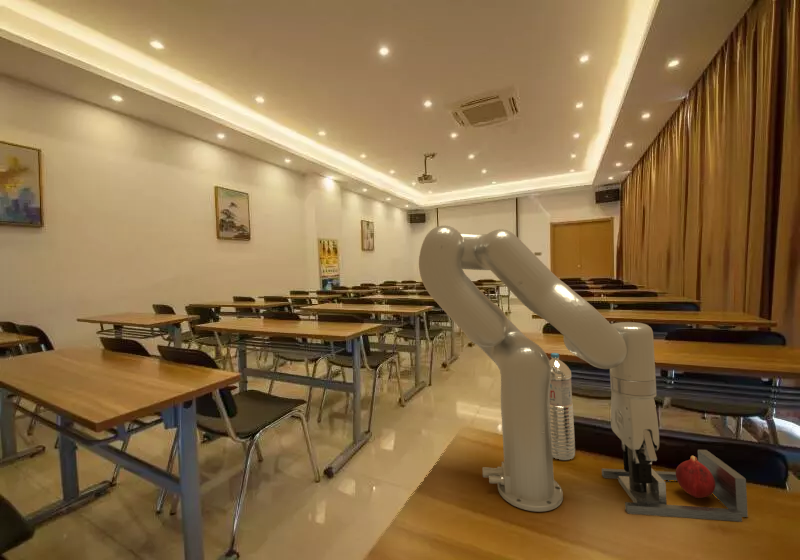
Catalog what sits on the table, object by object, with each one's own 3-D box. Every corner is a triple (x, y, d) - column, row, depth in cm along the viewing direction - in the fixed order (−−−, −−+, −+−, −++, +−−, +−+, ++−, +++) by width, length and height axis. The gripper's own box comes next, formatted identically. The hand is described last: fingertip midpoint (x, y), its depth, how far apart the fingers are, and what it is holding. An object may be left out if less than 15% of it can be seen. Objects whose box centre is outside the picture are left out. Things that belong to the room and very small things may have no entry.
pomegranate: (724, 509, 63) (722, 466, 63) (688, 506, 64) (686, 464, 64) (703, 489, 68) (701, 449, 68) (670, 487, 70) (668, 448, 69)
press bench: (627, 513, 63) (626, 475, 63) (602, 475, 75) (600, 443, 75) (752, 522, 59) (750, 482, 59) (704, 480, 71) (702, 447, 71)
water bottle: (579, 462, 80) (574, 356, 80) (549, 461, 82) (543, 357, 81) (570, 447, 87) (565, 350, 87) (541, 446, 88) (537, 350, 88)
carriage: (637, 506, 64) (633, 443, 64) (618, 481, 72) (615, 425, 72) (666, 508, 64) (663, 445, 63) (644, 483, 71) (641, 426, 71)
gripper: (596, 373, 77) (601, 454, 77) (631, 399, 61) (636, 502, 61) (633, 373, 75) (638, 456, 75) (679, 400, 59) (684, 505, 59)
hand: (637, 475), depth 68 cm, fingers closed on carriage, 2 cm apart
